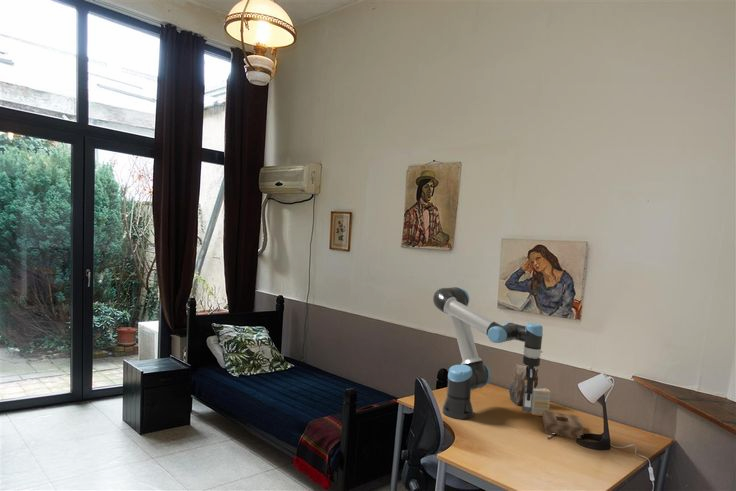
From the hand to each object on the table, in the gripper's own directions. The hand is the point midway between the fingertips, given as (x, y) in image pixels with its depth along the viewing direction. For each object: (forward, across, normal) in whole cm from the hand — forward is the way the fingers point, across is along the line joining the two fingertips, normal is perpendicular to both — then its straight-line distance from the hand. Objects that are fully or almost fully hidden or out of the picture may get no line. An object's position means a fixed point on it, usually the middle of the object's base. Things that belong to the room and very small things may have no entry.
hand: (527, 404), depth 216 cm
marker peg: (+3, 0, 0) cm, 3 cm away
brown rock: (+12, +36, +1) cm, 38 cm away
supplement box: (+11, +22, -8) cm, 26 cm away
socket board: (+11, +6, -17) cm, 21 cm away
